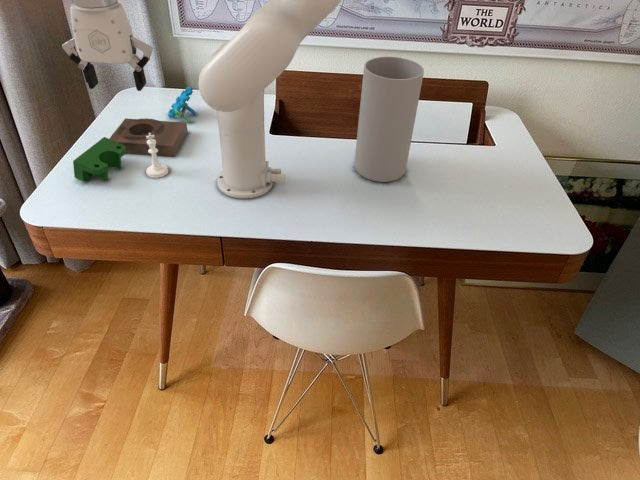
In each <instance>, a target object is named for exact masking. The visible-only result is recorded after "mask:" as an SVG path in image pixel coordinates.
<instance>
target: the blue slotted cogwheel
mask: <svg viewBox="0 0 640 480" xmlns="http://www.w3.org/2000/svg"><path fill="white" fill-rule="evenodd" d="M193 90H194V88H193V87H192V86H189V87H188V86H186V88H185V90H182V91H181V92H180V95H178V96H177V97H176V98H175V102H173V103H172V104H171V108H170V109H169V110H168V115H167V116H168V118H170V119H172V118H175V116H177V117H178V118H180V119H184V120H185V122H187V123H191V122H192V120H191V119H189V118H188V117H187V116H186V111H188V112H189V113H190V114H192V115H193V116H195V115H196V114H197V111H195V110H194V109H193V108H192V107H190V106H189V104H188V103H187V102H189V101H190V100H191V97H190V96H192V95H193V93H194V91H193Z"/></svg>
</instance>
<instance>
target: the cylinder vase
mask: <svg viewBox="0 0 640 480" xmlns="http://www.w3.org/2000/svg"><path fill="white" fill-rule="evenodd" d="M424 69H425V68H424V67H423V66H422V65H421V64H420V63H418V62H416V61H414V60H411V59H408V58H406V57H399V56H378V57H373V58H370V59H368V60H367V61H365V63H364V64H363V75H362V82H361V83H362V84H361V93H360V94H361V95H360V102H359V103H360V104H359V113H358V123H357V133H356V143H355V153H354V161H353V162H354V164H353V166H354V169H355V171H356V172H357V173H358V174H359V176H361V177H363V178H365V179H367V180H369V181H373V182H378V183H389V182H393V181H394V182H395V181H397V180H399V179H401V178H402V177H403V176H404V174H405V173H406V170H407V166H408V160H409V155H410V149H411V143H412V139H413V133H414V128H415V122H416V117H417V113H418V105H419V102H420V101H419V100H420V97H421V95H420V94H421V89H422V84H423V79H424V73H425V70H424Z"/></svg>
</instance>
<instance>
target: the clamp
mask: <svg viewBox="0 0 640 480" xmlns="http://www.w3.org/2000/svg"><path fill="white" fill-rule="evenodd" d="M125 155H126V153H125V146H124V145H122V144H120V143H118V142H115V141H113V140H110V139H109V138H108V137H106V136H104V137H101V138H100V140H98V141H97V142H95V143H94V144H92V146H90V147H89V148H88V149H86V150H85V151H83V153H81V154H80V155H79V156H77V157H76V158H75V159H74V160H72V164H73V175H74V178H75V179H77V180H79V181H81V182H84V183H86V182H88V181H89V180H90V179H92V178H93V177H96V178H98V179H101V180H103V181H106V182H108V181H109V168H116V169H118V170H121V169H122V157H123V156H125Z"/></svg>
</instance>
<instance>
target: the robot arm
mask: <svg viewBox="0 0 640 480" xmlns="http://www.w3.org/2000/svg"><path fill="white" fill-rule="evenodd" d="M71 1H72V3H73V4H71V5H70V6H69V7H70V8H69V9H70V10H69V11H70V21H71V28H72V33H73V34H72V35H73V37H72V38H71V39H69V40H67V41H66V42H64V43H63V44H62V45H61V48H62V49H63V51H64V52H65V53H66V54H67V55H68V57H69V59H70V60H71V61H72V62H73V63H75V64H76V65H77V66H78V69H80V70H82V73H83V77H84V81H85V83H87V85H88V88H89V89H90V90H93V89H95V88H96V86H97V85H98V84H99V79H98V76H97V72H96V69H95V65H94V64H115V65H117V64H121V65H123V64H124V65H125V64H128V65H129V66H130V67H132V69H134V70H133V72H132V75H133V79H134V84H135V90H136V91H137V92H142V91H143V89H144V87H145V86H146V85H147V79H146V74H145V69H144V67H145V66H146V65H147V64H148V63H149V62H150V60H151V57H152V54H153V51H154V47H153V46H152V45H150V44H148V43H146V42H144V41H142V40H140V39H138V38H137V37H135V36H134V33H133V30H132V27H131V23H130V20H129V18H128V15H127V13H126V10H125V8H124V5H123V4H122V3H121V2H119V1H118V0H71ZM341 2H342V0H268V1H267V2H266V3H264V4H263V5H262V6H261V7H260V8H258V9H257V10H255V12H254V13H252V15H251V16H250V18H249V19H248V20H247V21H246V23H245V24H244V25H243V26H242V28H240V30H239V31H238V32H237V33H235V35H234V36H233V37H232V38H230V39H229V40H226V41H224V42H223V43H222V44H221V45H220V46H219V47H218V48H217V49H216V50H215V52H214V53H213V54H212V56H210V58H209V59H208V61H207V62H206V63H205V65H204V66H203V68H202V69H201V71H200V73H199V77H198V91H199V93H200V96H201V98H202V100H203V101H204V103H205V104H206V105H207V106H208V107H210V108H211V109H212V110H215V111H216V114H217V126H218V135H219V144H220V155H221V164H222V170H221V172H220V173H219V174H218V176H217V178H216V181H217V188H218V189H219V191H220V192H221V193H222V194H224V195H226V196H229V197H231V198H234V199H252V198H257V197H260V196H263V195H264V194H267V193H268V192H269V191H270V190H271V189H272V187H273V185H274V182H275V183H283V184H285V183H286V173H282V168H272V167H270V163H269V162H270V161H269V160H266V136H265V134H266V133H265V132H266V131H265V89H266V88H267V87H268V86H270V84H272V83H273V82H274V81H275V80H276V79H277V78H278V77H280V76H281V75H282V74H283V73H284V72H285V70H286V69H287V68H288V66H289V65H290V64H291V63H292V60H293V58H294V56H295V55H296V53H297V50H298V49H299V46H300V45H301V43H302V42H303V41H304V39H306V38H307V36H308V35H309V34H310V33H311V32H313V31H314V30H315V29H316V28H317V27H318V26H319V25H320V24H321V23H322V22H323V21H324V20H325V19H326V18H327V17H328V16H329V15H330V14H331V13H332V12H333V11H334V10H335V9H336V8H337V7H338V5H340V3H341ZM75 47H76V49H75ZM137 49H138V50H140V51H141V52H142V53H143V54H142V57H139V55H137V53H138V51H137Z"/></svg>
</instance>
